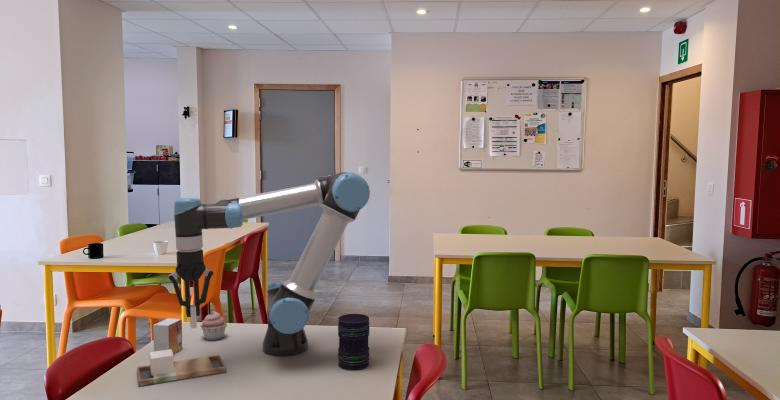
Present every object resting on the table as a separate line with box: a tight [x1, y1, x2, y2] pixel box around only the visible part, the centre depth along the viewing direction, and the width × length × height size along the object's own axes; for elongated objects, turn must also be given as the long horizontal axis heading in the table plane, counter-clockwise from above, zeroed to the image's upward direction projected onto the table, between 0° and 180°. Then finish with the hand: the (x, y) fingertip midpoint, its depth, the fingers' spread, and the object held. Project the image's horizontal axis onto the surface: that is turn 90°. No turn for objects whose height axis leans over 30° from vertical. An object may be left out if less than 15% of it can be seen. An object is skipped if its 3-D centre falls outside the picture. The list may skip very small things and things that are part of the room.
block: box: [149, 349, 174, 375], centre depth 162 cm, size 6×6×5 cm
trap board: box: [136, 354, 227, 388], centre depth 165 cm, size 24×12×2 cm, turn 117°
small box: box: [152, 317, 183, 355], centre depth 181 cm, size 8×6×10 cm
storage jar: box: [337, 313, 370, 372], centre depth 171 cm, size 10×10×15 cm
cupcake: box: [199, 310, 228, 341], centre depth 197 cm, size 9×9×10 cm
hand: (193, 326), depth 165 cm, fingers closed
